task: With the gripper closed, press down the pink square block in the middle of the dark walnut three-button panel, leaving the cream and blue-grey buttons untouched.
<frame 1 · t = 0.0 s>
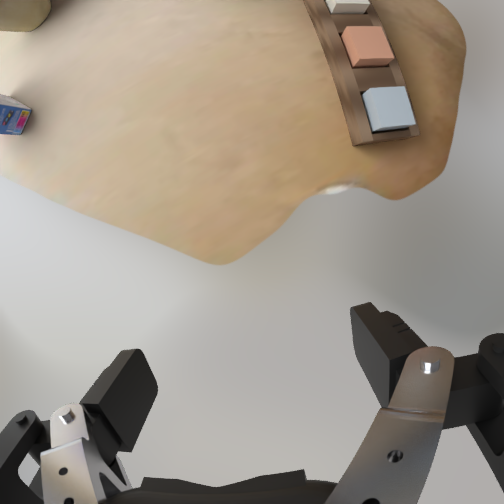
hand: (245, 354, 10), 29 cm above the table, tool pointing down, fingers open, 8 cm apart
ink cartridge box: (14, 115, 35), on the table
plant pot: (38, 16, 30), on the table
pink square block: (366, 47, 28), point 5 cm above the table, slide at 0.0 cm
button panel: (356, 59, 33), on the table
bluegrey button: (388, 109, 30), point 5 cm above the table, slide at 0.0 cm
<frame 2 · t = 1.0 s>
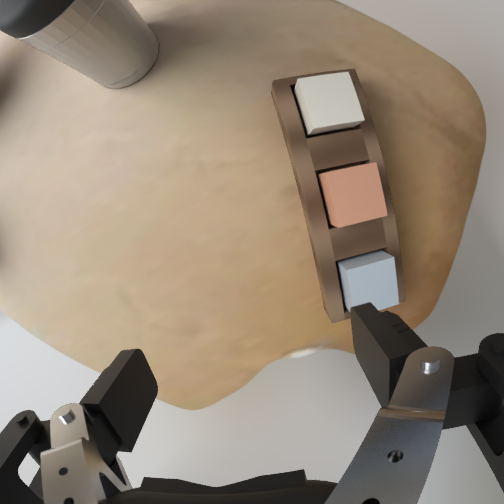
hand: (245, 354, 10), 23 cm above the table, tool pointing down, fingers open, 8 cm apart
cream button: (327, 103, 25), point 5 cm above the table, slide at 0.0 cm
pink square block: (352, 194, 26), point 5 cm above the table, slide at 0.0 cm
button panel: (339, 193, 31), on the table
bluegrey button: (368, 282, 28), point 5 cm above the table, slide at 0.0 cm
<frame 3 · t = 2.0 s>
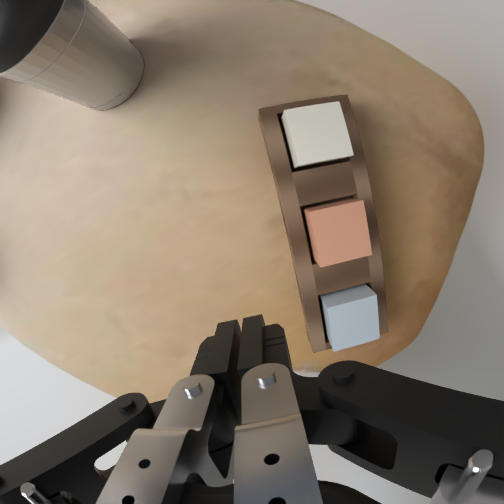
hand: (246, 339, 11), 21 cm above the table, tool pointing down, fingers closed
cream button: (315, 135, 25), point 5 cm above the table, slide at 0.0 cm
pink square block: (337, 230, 27), point 5 cm above the table, slide at 0.0 cm
button panel: (326, 224, 31), on the table
bluegrey button: (350, 316, 28), point 5 cm above the table, slide at 0.0 cm
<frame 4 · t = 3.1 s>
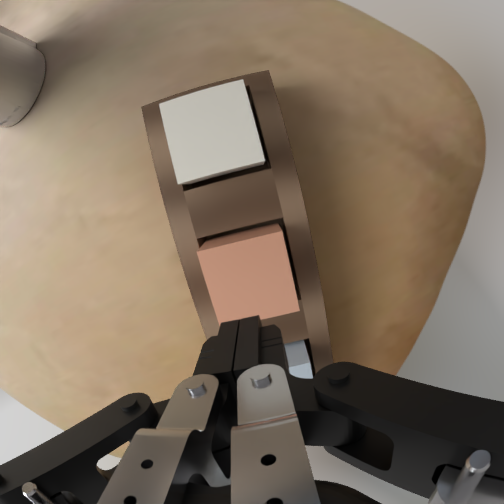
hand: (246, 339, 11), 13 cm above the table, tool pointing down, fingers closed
cream button: (214, 134, 17), point 5 cm above the table, slide at 0.0 cm
pink square block: (250, 273, 19), point 5 cm above the table, slide at 0.0 cm
button panel: (251, 255, 23), on the table
bluegrey button: (279, 382, 21), point 5 cm above the table, slide at 0.0 cm
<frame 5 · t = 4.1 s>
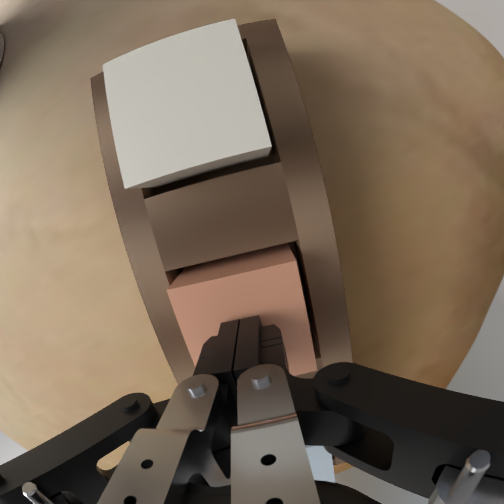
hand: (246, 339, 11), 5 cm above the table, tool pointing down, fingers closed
cream button: (188, 108, 10), point 5 cm above the table, slide at 0.0 cm
pink square block: (247, 316, 13), point 4 cm above the table, slide at 1.1 cm, touching gripper
button panel: (249, 288, 17), on the table
bluegrey button: (285, 453, 14), point 5 cm above the table, slide at 0.0 cm
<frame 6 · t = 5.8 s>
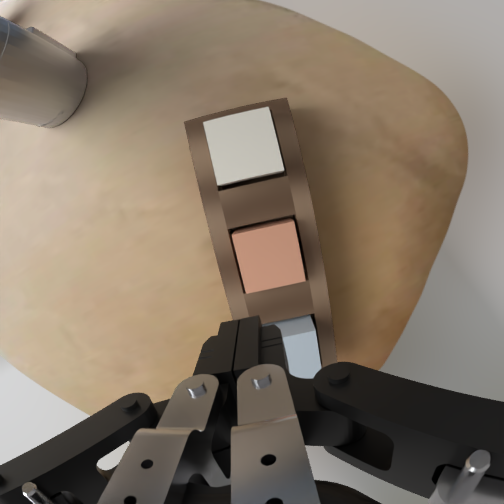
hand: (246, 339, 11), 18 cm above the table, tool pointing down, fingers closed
cream button: (244, 148, 22), point 5 cm above the table, slide at 0.0 cm
pink square block: (268, 253, 25), point 3 cm above the table, slide at 1.3 cm
button panel: (267, 246, 29), on the table
bluegrey button: (289, 350, 26), point 5 cm above the table, slide at 0.0 cm
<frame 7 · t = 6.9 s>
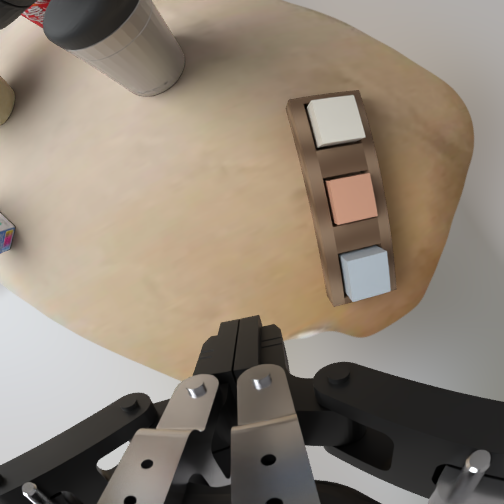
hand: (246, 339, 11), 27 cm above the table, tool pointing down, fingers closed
cream button: (335, 121, 30), point 5 cm above the table, slide at 0.0 cm
plant pot: (4, 106, 33), on the table
pink square block: (349, 197, 33), point 3 cm above the table, slide at 1.3 cm
soda can: (65, 18, 30), on the table
button panel: (341, 196, 36), on the table
bluegrey button: (365, 272, 34), point 5 cm above the table, slide at 0.0 cm
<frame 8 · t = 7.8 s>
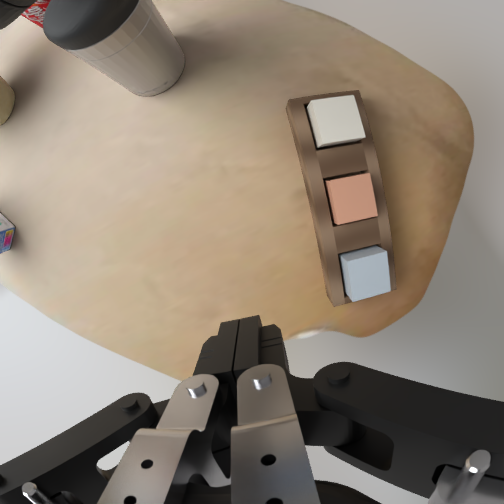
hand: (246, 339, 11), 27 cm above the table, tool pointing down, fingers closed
cream button: (335, 121, 30), point 5 cm above the table, slide at 0.0 cm
plant pot: (4, 106, 33), on the table
pink square block: (349, 197, 33), point 3 cm above the table, slide at 1.3 cm
soda can: (65, 18, 30), on the table
button panel: (341, 196, 36), on the table
bluegrey button: (365, 272, 34), point 5 cm above the table, slide at 0.0 cm
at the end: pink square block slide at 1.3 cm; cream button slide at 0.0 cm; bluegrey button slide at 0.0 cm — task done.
